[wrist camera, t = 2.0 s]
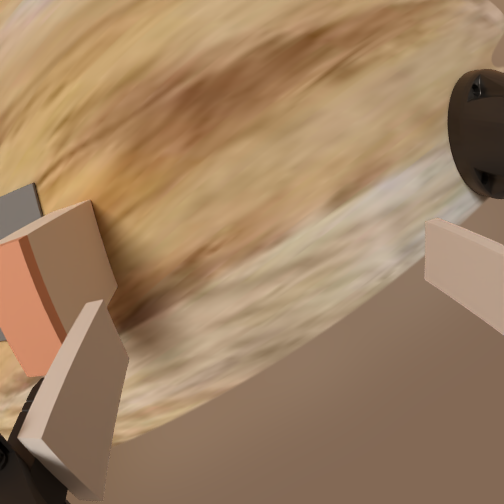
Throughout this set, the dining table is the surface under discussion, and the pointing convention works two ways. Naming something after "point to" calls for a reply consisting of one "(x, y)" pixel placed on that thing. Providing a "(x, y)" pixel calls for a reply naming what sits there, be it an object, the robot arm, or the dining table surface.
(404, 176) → the dining table surface
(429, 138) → the dining table surface
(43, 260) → the tall block
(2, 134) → the dining table surface
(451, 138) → the robot arm
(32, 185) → the mat
